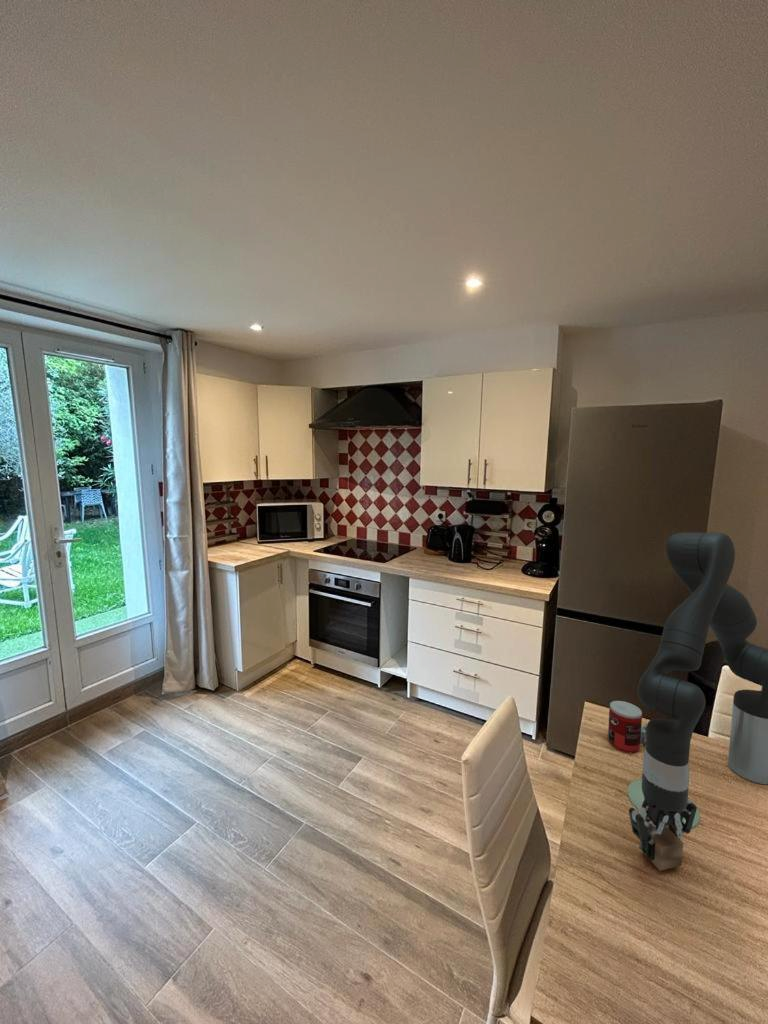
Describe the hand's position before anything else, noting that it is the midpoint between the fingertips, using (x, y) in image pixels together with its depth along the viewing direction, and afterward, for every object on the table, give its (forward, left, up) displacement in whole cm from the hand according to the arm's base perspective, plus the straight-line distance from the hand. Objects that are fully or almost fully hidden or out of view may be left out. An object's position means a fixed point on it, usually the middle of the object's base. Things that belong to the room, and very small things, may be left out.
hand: (660, 853), depth 83 cm
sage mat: (-13, -12, -2) cm, 18 cm away
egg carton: (-30, -31, -2) cm, 43 cm away
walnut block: (0, 0, -1) cm, 1 cm away
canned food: (-20, -32, -2) cm, 38 cm away
